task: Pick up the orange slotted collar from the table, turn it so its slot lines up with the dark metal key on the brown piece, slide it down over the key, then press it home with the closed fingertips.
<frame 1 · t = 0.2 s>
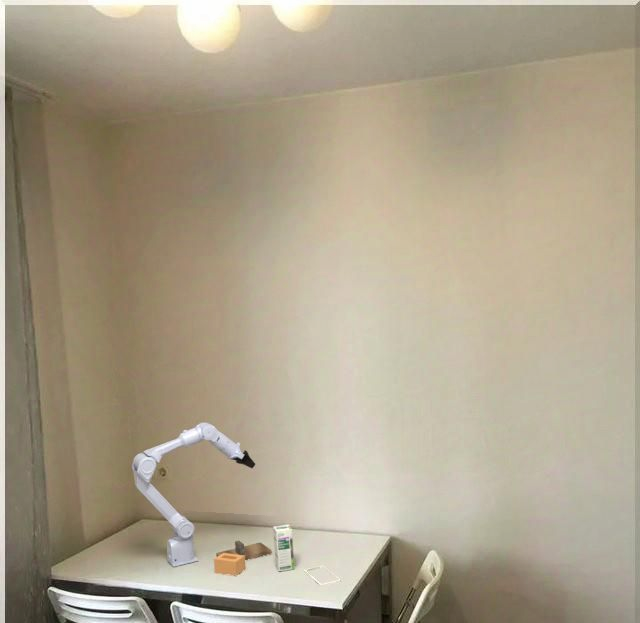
hand: (249, 464, 268), 31 cm above the table, tool tilted 50°, fingers open, 7 cm apart
collar: (230, 571, 243), on the table
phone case: (321, 578, 234), on the table
syrup box: (284, 568, 243), on the table
brown piece: (244, 555, 257), on the table
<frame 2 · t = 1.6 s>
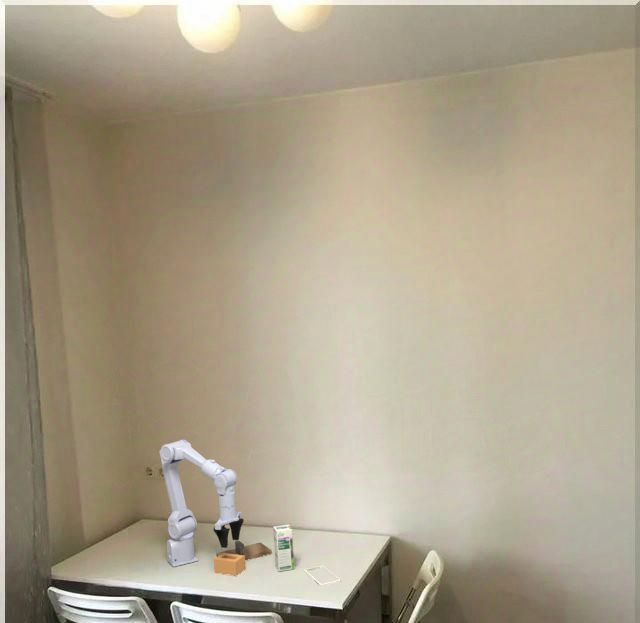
hand: (230, 543, 243), 10 cm above the table, tool pointing down, fingers open, 7 cm apart
nothing on the table moved.
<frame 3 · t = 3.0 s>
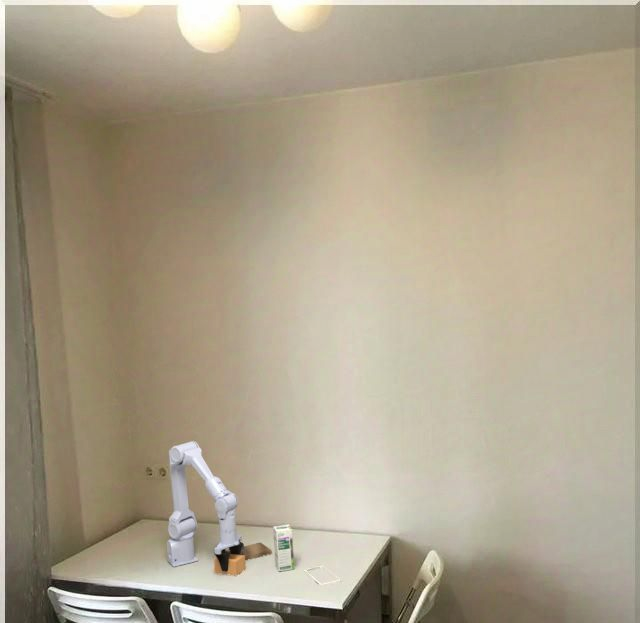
hand: (230, 567, 243), 1 cm above the table, tool pointing down, fingers closed on collar, 6 cm apart
collar: (230, 571, 243), on the table, touching gripper
everything else where it was.
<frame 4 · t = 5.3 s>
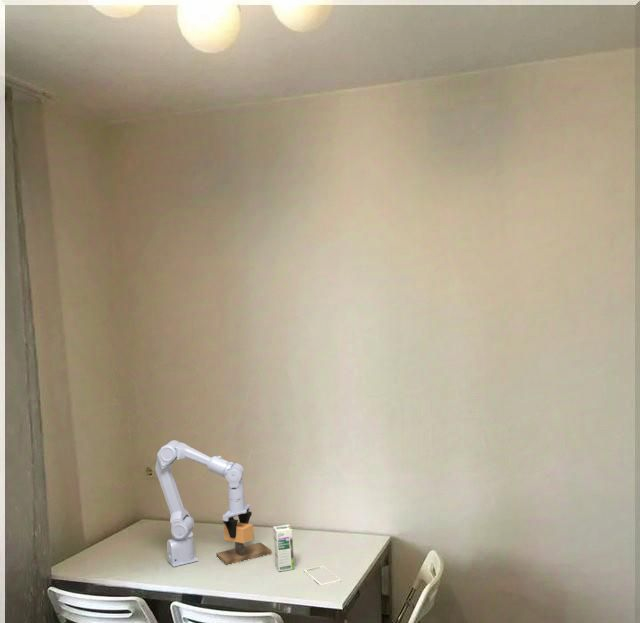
hand: (238, 534, 253), 9 cm above the table, tool pointing down, fingers closed on collar, 6 cm apart
collar: (238, 538, 253), point 8 cm above the table, touching gripper
everything else where it was.
when the fingers open (3 cm above the table, at t = 7.5 s): collar stays where it is, resting on brown piece.
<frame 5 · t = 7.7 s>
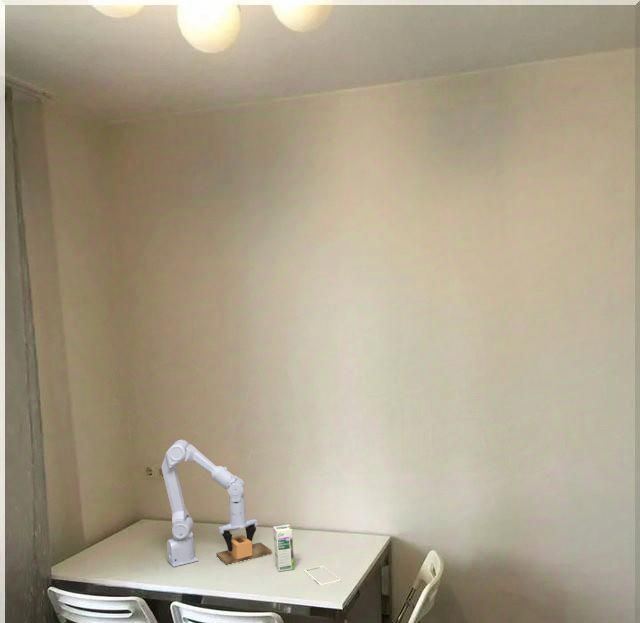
hand: (239, 548, 255), 3 cm above the table, tool pointing down, fingers open, 7 cm apart
collar: (240, 553, 255), point 1 cm above the table, touching brown piece
everything else where it was.
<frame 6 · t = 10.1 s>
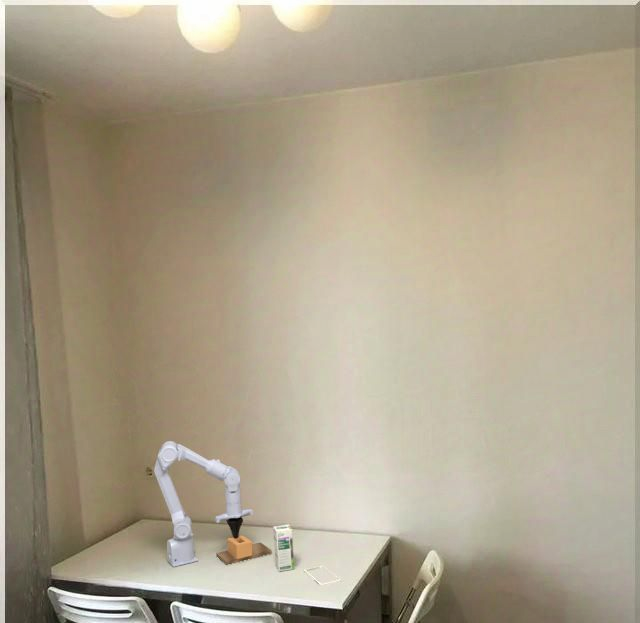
hand: (235, 537, 259), 6 cm above the table, tool pointing down, fingers closed, pressing on collar
collar: (240, 553, 255), point 1 cm above the table, touching gripper, brown piece
everything else where it was.
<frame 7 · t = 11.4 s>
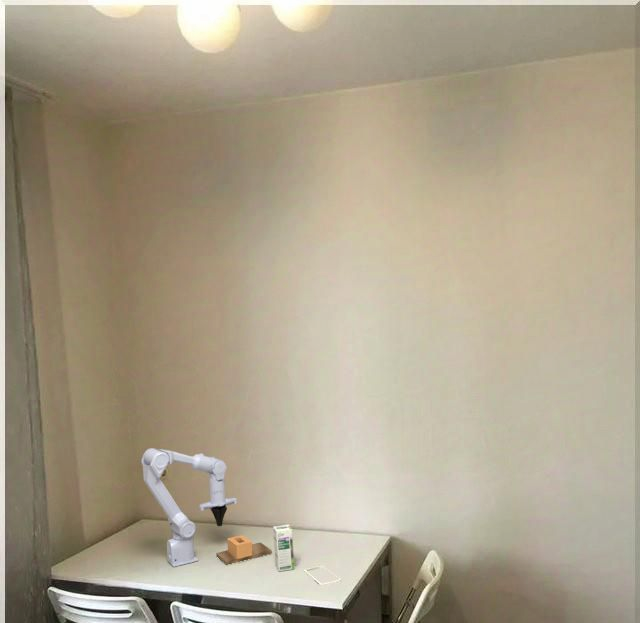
hand: (219, 525, 264), 9 cm above the table, tool pointing down, fingers closed
collar: (240, 553, 255), point 1 cm above the table, touching brown piece
everything else where it was.
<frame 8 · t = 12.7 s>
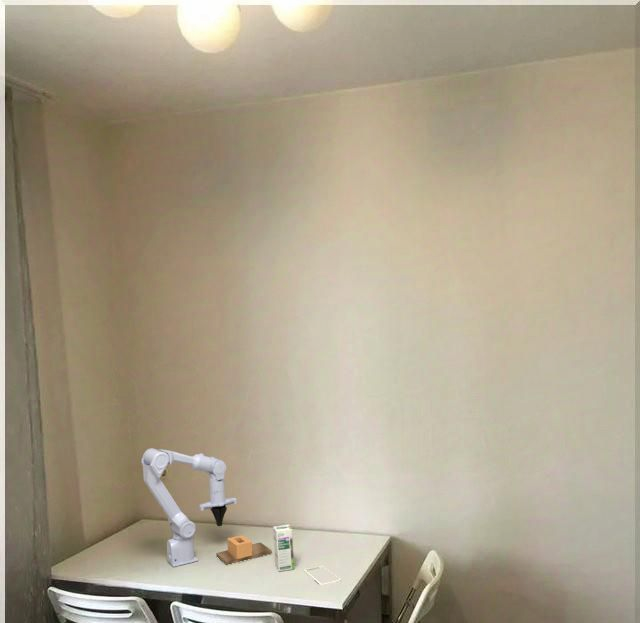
hand: (219, 525, 264), 9 cm above the table, tool pointing down, fingers closed
nothing on the table moved.
at the end: collar 0.1 cm from the target spot on the brown piece, point 1.5 cm above the brown piece's base; collar tilted 0°; the gripper is holding nothing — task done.
